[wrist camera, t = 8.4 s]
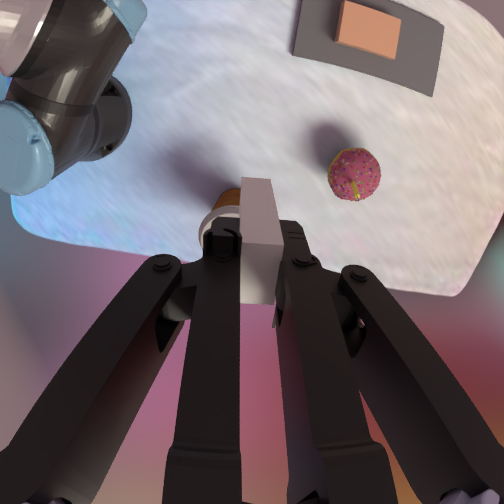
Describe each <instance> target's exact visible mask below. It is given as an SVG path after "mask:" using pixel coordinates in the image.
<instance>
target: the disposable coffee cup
mask: <svg viewBox="0 0 504 504" xmlns="http://www.w3.org/2000/svg"><path fill="white" fill-rule="evenodd" d="M240 193H241V189H230V190H227V191H225V192H224V193H223V194H222V195H221V196H220V197H219V199H218V201H217V202H216V204H215V206H214V207H213V209H212V211H211V212H210V213H209V214H208V215H207V216H206V217H205V218H204V220H203V221H202V223H201V225H200V228H199V242H200V245H201V247H202V249H203V234H204V232H205V231H206V230H208V229H210V228H211V223H212V221H213V220H214V219H215V218H216V217H217V216H221V217H236V218H239V206H240Z"/></svg>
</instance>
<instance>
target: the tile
mask: <svg viewBox="0 0 504 504" xmlns="http://www.w3.org/2000/svg"><path fill="white" fill-rule="evenodd" d="M400 25H401V19H398V18H396V17H393V16H390V15H388V14H385V13H382V12H380V11H377V10H374V9H371V8H368V7H365V6H362V5H359V4H356V3H353V2H349V1H346V0H345V1H343V2H342V3H341V6H340V13H339V19H338V25H337V31H336V37H335V43H338V44H342V45H346V46H349V47H353V48H356V49H359V50H363V51H366V52H369V53H372V54H375V55H378V56H381V57H384V58H387V59H395V56H396V50H397V44H398V38H399V32H400Z"/></svg>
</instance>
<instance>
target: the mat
mask: <svg viewBox="0 0 504 504" xmlns="http://www.w3.org/2000/svg"><path fill="white" fill-rule="evenodd" d="M343 1H345V0H302V2H301V8H300V14H299V20H298V26H297V32H296V38H295V44H294V49H293V55H292V56H297V57H302V58H307V59H311V60H316V61H320V62H324V63H329V64H333V65H337V66H340V67H344V68H348V69H352V70H355V71H359V72H362V73H365V74H369V75H372V76H375V77H378V78H381V79H384V80H387V81H390V82H393V83H396V84H399V85H401V86H404V87H407V88H409V89H412V90H415V91H417V92H420V93H422V94H425V95H427V96H430V97H432V96H433V91H434V86H435V81H436V76H437V71H438V65H439V60H440V53H441V47H442V40H443V33H444V26H443V25H442V24H440V23H438V22H436V21H434V20H432V19H430V18H428V17H425V16H423V15H421V14H419V13H417V12H415V11H412V10H410V9H408V8H406V7H403V6H401V5H398V4H396V3H393V2H391V1H388V0H346V1H349V2H353V3H356V4H359V5H362V6H365V7H368V8H371V9H374V10H377V11H380V12H382V13H385V14H388V15H390V16H393V17H396V18H398V19H401V25H400V32H399V38H398V44H397V50H396V56H395V59H387V58H384V57H381V56H378V55H375V54H372V53H369V52H366V51H363V50H359V49H356V48H353V47H349V46H346V45H342V44H338V43H335V37H336V31H337V25H338V19H339V13H340V6H341V3H342V2H343Z"/></svg>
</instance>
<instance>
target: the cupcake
mask: <svg viewBox="0 0 504 504" xmlns="http://www.w3.org/2000/svg"><path fill="white" fill-rule="evenodd" d="M380 177H381V170H380V166H379V163H378V161H377V160H376V159H375V157H374V156H373V155H372V154H371V153H370V152H369V151H367V150H366V149H363V148H349V149H343V150H341V151H340V152H339V153H338V154H337V155H336V157H335V158H334V159H333V160H332V162H331V163H330V165H329V168H328V182H329V185H330V187H331V189H332V190H333V192H334V194H335V196H337V197H339V198H341V199H345V200H350V201H351V200H352V201H359V200H362V199H365V198H367V197H368V196H370V195H371V194H373V192H374V191H375V190H376V189H377V187H378V185H379V182H380Z"/></svg>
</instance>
